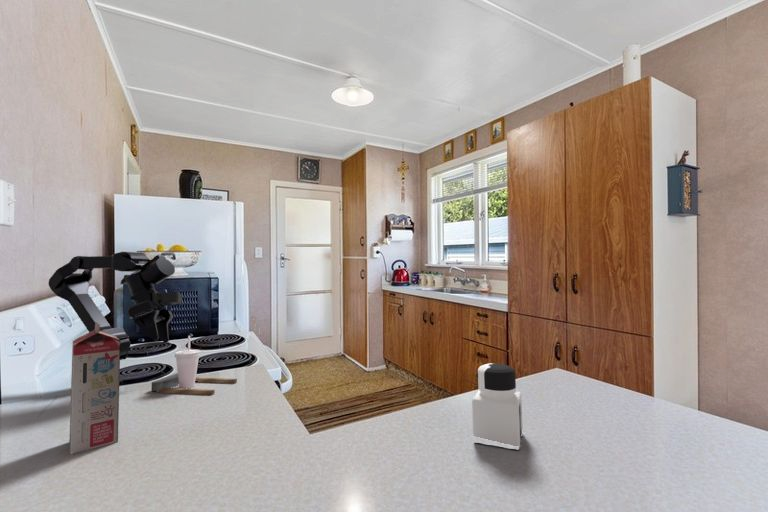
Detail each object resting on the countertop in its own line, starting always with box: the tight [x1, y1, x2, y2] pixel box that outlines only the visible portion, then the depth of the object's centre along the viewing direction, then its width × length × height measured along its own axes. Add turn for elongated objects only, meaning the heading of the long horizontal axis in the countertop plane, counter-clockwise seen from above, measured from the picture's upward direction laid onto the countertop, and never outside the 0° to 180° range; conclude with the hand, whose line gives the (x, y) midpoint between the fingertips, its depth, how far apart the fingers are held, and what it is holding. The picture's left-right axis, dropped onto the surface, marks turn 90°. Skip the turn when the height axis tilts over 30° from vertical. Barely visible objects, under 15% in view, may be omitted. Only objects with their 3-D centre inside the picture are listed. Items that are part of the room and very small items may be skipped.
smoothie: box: [174, 335, 201, 389], centre depth 100 cm, size 6×6×14 cm
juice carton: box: [68, 322, 121, 455], centre depth 67 cm, size 7×7×22 cm
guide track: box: [151, 372, 238, 396], centre depth 99 cm, size 18×11×2 cm, turn 80°
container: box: [471, 362, 524, 447], centre depth 65 cm, size 8×8×13 cm
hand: (161, 341), depth 100 cm, fingers open, 9 cm apart
